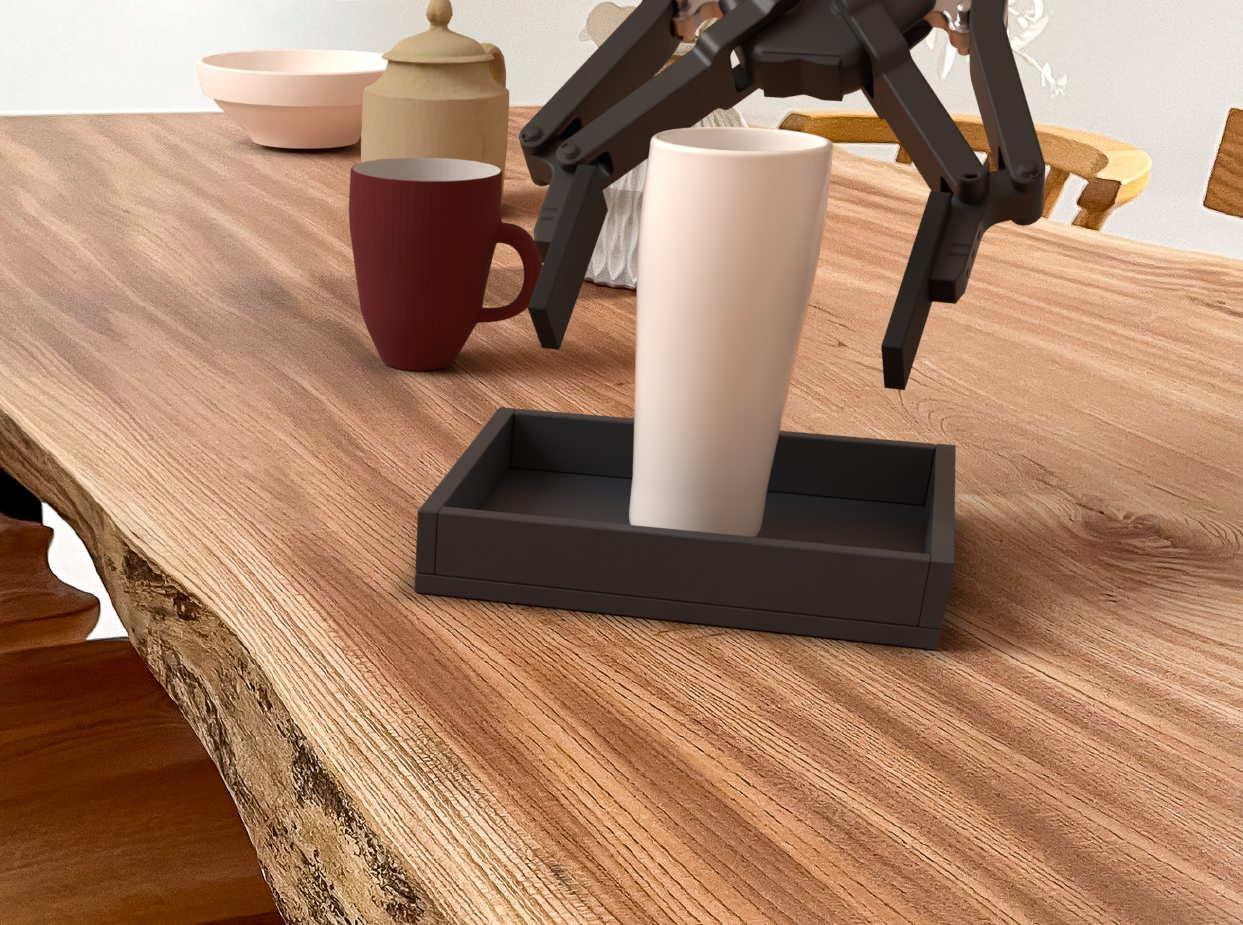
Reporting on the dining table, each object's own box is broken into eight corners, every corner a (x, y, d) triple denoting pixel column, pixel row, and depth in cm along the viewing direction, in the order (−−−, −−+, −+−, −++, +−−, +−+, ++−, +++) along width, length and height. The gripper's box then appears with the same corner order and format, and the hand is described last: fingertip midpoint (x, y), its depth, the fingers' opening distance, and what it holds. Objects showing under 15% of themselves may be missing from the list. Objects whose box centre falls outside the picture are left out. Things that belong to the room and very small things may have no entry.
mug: (540, 350, 108) (554, 161, 102) (530, 386, 101) (545, 185, 96) (356, 342, 109) (361, 155, 104) (334, 376, 102) (339, 178, 97)
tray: (941, 521, 82) (955, 444, 80) (937, 650, 69) (954, 563, 67) (494, 479, 87) (499, 406, 85) (413, 592, 74) (417, 509, 72)
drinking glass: (744, 574, 74) (801, 158, 66) (582, 543, 77) (619, 142, 69) (800, 527, 78) (860, 134, 71) (646, 500, 82) (688, 121, 74)
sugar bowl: (365, 187, 155) (370, -20, 147) (500, 189, 154) (513, -19, 146) (356, 220, 142) (361, -5, 134) (504, 223, 141) (518, -3, 134)
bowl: (343, 170, 162) (345, 78, 159) (156, 150, 171) (153, 63, 167) (449, 141, 176) (453, 57, 173) (271, 125, 185) (271, 44, 182)
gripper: (1193, -36, 74) (1051, 443, 71) (586, -52, 84) (435, 366, 81) (1215, -196, 67) (1060, 324, 64) (553, -193, 77) (386, 257, 74)
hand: (711, 349), depth 72 cm, fingers open, 13 cm apart
